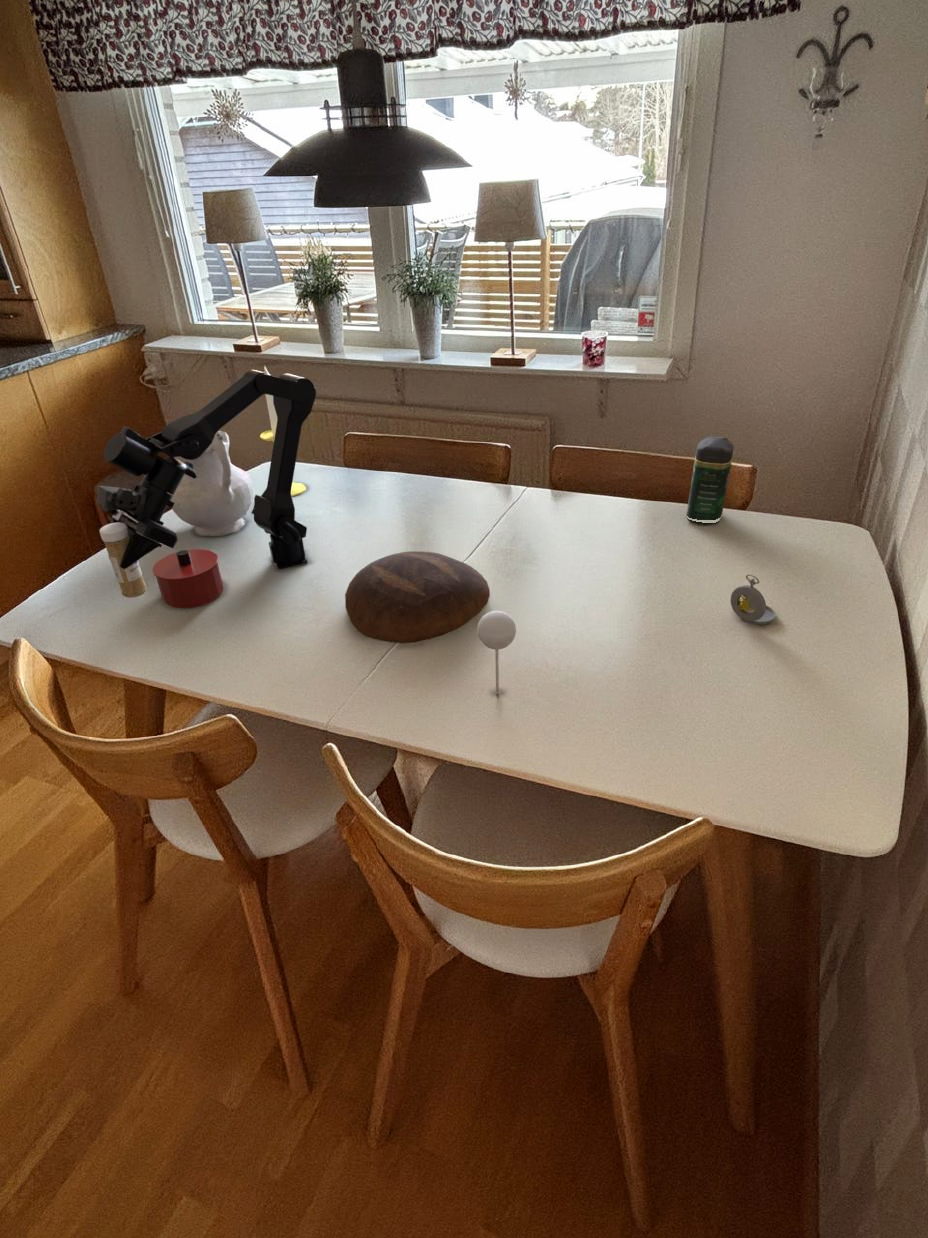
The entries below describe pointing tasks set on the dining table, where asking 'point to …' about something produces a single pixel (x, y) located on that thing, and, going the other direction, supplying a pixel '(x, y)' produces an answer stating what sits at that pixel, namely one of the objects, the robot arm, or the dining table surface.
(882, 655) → the dining table surface
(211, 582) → the pot
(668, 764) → the dining table surface
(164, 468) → the robot arm
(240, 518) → the ceramic pitcher
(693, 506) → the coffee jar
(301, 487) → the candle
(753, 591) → the pocket watch
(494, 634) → the lollipop
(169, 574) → the pot lid
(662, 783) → the dining table surface
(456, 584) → the bread
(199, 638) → the dining table surface
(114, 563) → the sprinkles bottle
